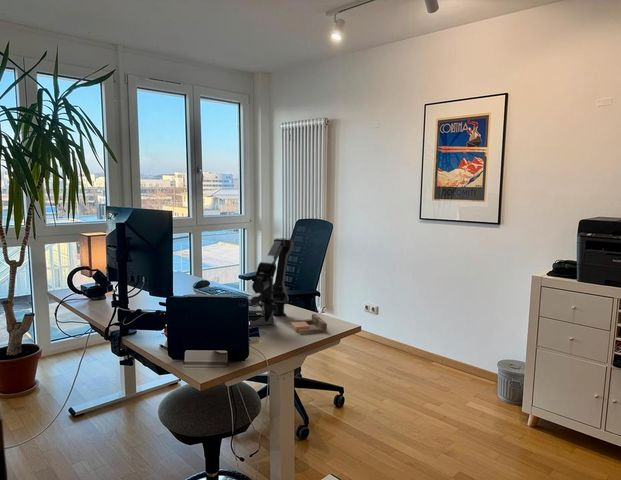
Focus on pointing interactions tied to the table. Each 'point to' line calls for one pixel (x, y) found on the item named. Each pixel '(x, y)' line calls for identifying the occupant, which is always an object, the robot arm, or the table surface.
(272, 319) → the scraper
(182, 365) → the table surface
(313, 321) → the tile rack
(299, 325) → the tile
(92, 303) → the table surface
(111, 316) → the table surface
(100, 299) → the table surface
